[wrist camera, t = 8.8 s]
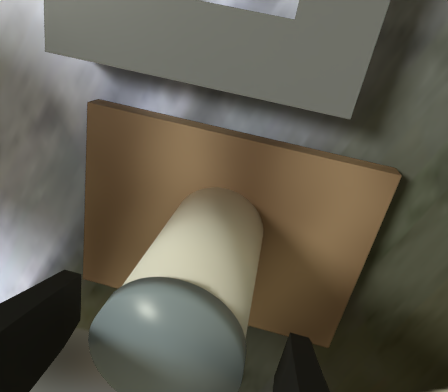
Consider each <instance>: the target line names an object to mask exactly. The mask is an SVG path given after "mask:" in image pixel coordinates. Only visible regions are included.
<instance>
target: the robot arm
mask: <svg viewBox="0 0 448 392" xmlns="http://www.w3.org/2000/svg"><path fill="white" fill-rule="evenodd" d="M80 313H81V274H78V273H74V272H71V271H67V270H63V271H61V272H59V273H57V274H56V275H54V276H52V277H50V278H48V279H46V280H44V281H42V282H40V283H39V284H37V285H35V286H33V287H31V288H29V289H27V290H25V291H23V292H21V293H20V294H18V295H16V296H14V297H12V298H10V299H8V300H6V301H4V302H2V303H0V392H29V391H30V390H31V389H32V388H33V386H34V385H35V384H36V383H37V381H38V380H39V379H40V377H41V376H42V375H43V373H44V372H45V371H46V370H47V368H48V367H49V366H50V365H51V363H52V362H53V361H54V359H55V358H56V357H57V355H58V354H59V353H60V351H61V350H62V349H63V348H64V346H65V344H66V343H67V341H68V339H69V338H70V336H71V335H72V333H73V331H74V330H75V328H76V326H77V325H78V323H79V321H80ZM273 392H330V391H329V389H328V386H327V384H326V381H325V379H324V376H323V374H322V371H321V368H320V366H319V363H318V360H317V357H316V355H315V352H314V349H313V346H312V342H311V340H310V339H309V337H305V336H301V335H298V334H294V333H291V332H290V334H289V337H288V340H287V342H286V345H285V348H284V351H283V354H282V357H281V359H280V362H279V365H278V368H277V371H276V373H275V377H274V385H273Z"/></svg>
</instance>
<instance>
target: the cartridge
mask: <svg viewBox="0 0 448 392" xmlns="http://www.w3.org/2000/svg"><path fill="white" fill-rule="evenodd" d="M262 239H263V224H262V220H261V217H260V215H259V213H258V211H257V210H256V208H255V207H254V206H253V204H252V203H251V202H250V201H249V200H247V199H246V198H245V197H243V196H242V195H240V194H239V193H237V192H234V191H232V190H229V189H225V188H219V187H211V188H204V189H200V190H198V191H195V192H193V193H192V194H190V195H189V196H187V197H186V198H185V199H184V200H183V201H182V203H181V204H180V205H179V207H178V208H177V210H176V211H175V212H174V214H173V215H172V217H171V218H170V219H169V221H168V222H167V224H166V225H165V226H164V228H163V229H162V231H161V232H160V233H159V235H158V236H157V238H156V239H155V240H154V242H153V243H152V245H151V246H150V247H149V249H148V250H147V252H146V253H145V254H144V256H143V257H142V259H141V260H140V261H139V263H138V264H137V266H136V267H135V268H134V270H133V271H132V273H131V274H130V275H129V277H128V278H127V280H126V281H125V282H124V284H123V285H122V286H121V287H120V288H118V289H117V290H116V291H115V292H114V293H113V294H112V295H111V296H110V298H109V299H108V300H107V302H106V303H105V304H104V306H103V307H102V309H101V310H100V311H99V313H98V314H97V315H96V317H95V318H94V320H93V322H92V324H91V327H90V331H89V339H88V341H89V350H90V354H91V357H92V359H93V362H94V364H95V366H96V368H97V370H98V371H99V372H100V374H101V375H102V377H103V378H104V379H105V380H106V381H107V383H108V384H109V385H110V386H111V387H113V388H114V389H115V390H116V391H117V392H238V390H239V388H240V385H241V383H242V377H243V371H244V364H245V358H246V340H245V338H246V333H247V327H248V321H249V315H250V309H251V303H252V298H253V292H254V286H255V280H256V274H257V268H258V263H259V257H260V251H261V245H262Z"/></svg>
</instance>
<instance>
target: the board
mask: <svg viewBox="0 0 448 392" xmlns="http://www.w3.org/2000/svg"><path fill="white" fill-rule="evenodd" d="M401 176H402V175H401V174H400V173H399V172H398V170H397V169H396V168H393V167H389V166H384V165H380V164H376V163H371V162H367V161H363V160H358V159H354V158H350V157H346V156H341V155H337V154H333V153H328V152H324V151H320V150H315V149H311V148H307V147H303V146H298V145H294V144H290V143H285V142H281V141H277V140H272V139H268V138H264V137H259V136H255V135H251V134H247V133H242V132H238V131H234V130H229V129H225V128H221V127H216V126H212V125H208V124H204V123H199V122H195V121H191V120H186V119H182V118H178V117H173V116H169V115H165V114H161V113H156V112H152V111H148V110H143V109H139V108H135V107H130V106H126V105H122V104H117V103H113V102H109V101H105V100H100V99H97V100H94V101H90V102H87V141H86V180H85V219H84V258H83V279H86V280H89V281H93V282H96V283H100V284H103V285H107V286H111V287H114V288H120V287H121V286H122V285H123V284H124V282H125V281H126V280H127V278H128V277H129V275H130V274H131V273H132V271H133V270H134V268H135V267H136V266H137V264H138V263H139V261H140V260H141V259H142V257H143V256H144V254H145V253H146V252H147V250H148V249H149V247H150V246H151V245H152V243H153V242H154V240H155V239H156V238H157V236H158V235H159V233H160V232H161V231H162V229H163V228H164V226H165V225H166V224H167V222H168V221H169V219H170V218H171V217H172V215H173V214H174V212H175V211H176V210H177V208H178V207H179V205H180V204H181V203H182V201H183V200H184V199H185V198H186V197H187V196H189V195H190V194H192V193H193V192H195V191H198V190H200V189H204V188H211V187H219V188H225V189H229V190H232V191H234V192H237V193H239V194H240V195H242V196H243V197H245V198H246V199H247V200H249V201H250V202H251V203H252V204H253V206H254V207H255V208H256V210H257V211H258V213H259V215H260V217H261V220H262V224H263V239H262V245H261V251H260V257H259V263H258V268H257V274H256V280H255V286H254V292H253V298H252V303H251V309H250V315H249V321H248V325H249V326H252V327H256V328H259V329H263V330H267V331H270V332H274V333H277V334H281V335H284V336H288V337H289V334H290V332H291V333H294V334H298V335H301V336H305V337H309V339H310V340H311V342H312V343H313V344H316V345H320V346H323V347H327V348H329V346H330V343H331V341H332V338H333V336H334V334H335V331H336V329H337V327H338V324H339V322H340V320H341V317H342V315H343V313H344V310H345V308H346V306H347V303H348V301H349V299H350V296H351V294H352V291H353V289H354V287H355V284H356V282H357V280H358V277H359V275H360V273H361V270H362V268H363V266H364V263H365V261H366V259H367V256H368V254H369V252H370V249H371V247H372V244H373V242H374V240H375V237H376V235H377V233H378V230H379V228H380V226H381V223H382V221H383V219H384V216H385V214H386V212H387V209H388V207H389V204H390V202H391V200H392V197H393V195H394V193H395V190H396V188H397V186H398V183H399V181H400V179H401Z"/></svg>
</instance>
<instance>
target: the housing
mask: <svg viewBox="0 0 448 392" xmlns="http://www.w3.org/2000/svg"><path fill="white" fill-rule="evenodd" d="M389 3H390V0H299V4H298V8H297V12H296V17H295V20H294V19H289V18H284V17H279V16H274V15H269V14H264V13H259V12H254V11H249V10H244V9H239V8H234V7H229V6H224V5H219V4H214V3H209V2H204V1H199V0H44V28H45V52H49V53H54V54H58V55H63V56H67V57H72V58H76V59H81V60H85V61H90V62H94V63H99V64H103V65H108V66H112V67H117V68H121V69H126V70H130V71H135V72H139V73H144V74H148V75H153V76H157V77H161V78H166V79H170V80H175V81H179V82H184V83H188V84H193V85H197V86H202V87H206V88H211V89H215V90H220V91H224V92H229V93H233V94H238V95H242V96H247V97H251V98H256V99H260V100H265V101H269V102H274V103H278V104H283V105H287V106H292V107H296V108H301V109H305V110H310V111H314V112H319V113H323V114H328V115H332V116H337V117H341V118H346V119H351V116H352V113H353V110H354V107H355V104H356V101H357V98H358V95H359V92H360V89H361V86H362V83H363V80H364V78H365V75H366V72H367V69H368V66H369V63H370V60H371V57H372V54H373V51H374V48H375V45H376V42H377V39H378V36H379V33H380V30H381V27H382V24H383V21H384V18H385V15H386V12H387V9H388V6H389Z"/></svg>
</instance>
